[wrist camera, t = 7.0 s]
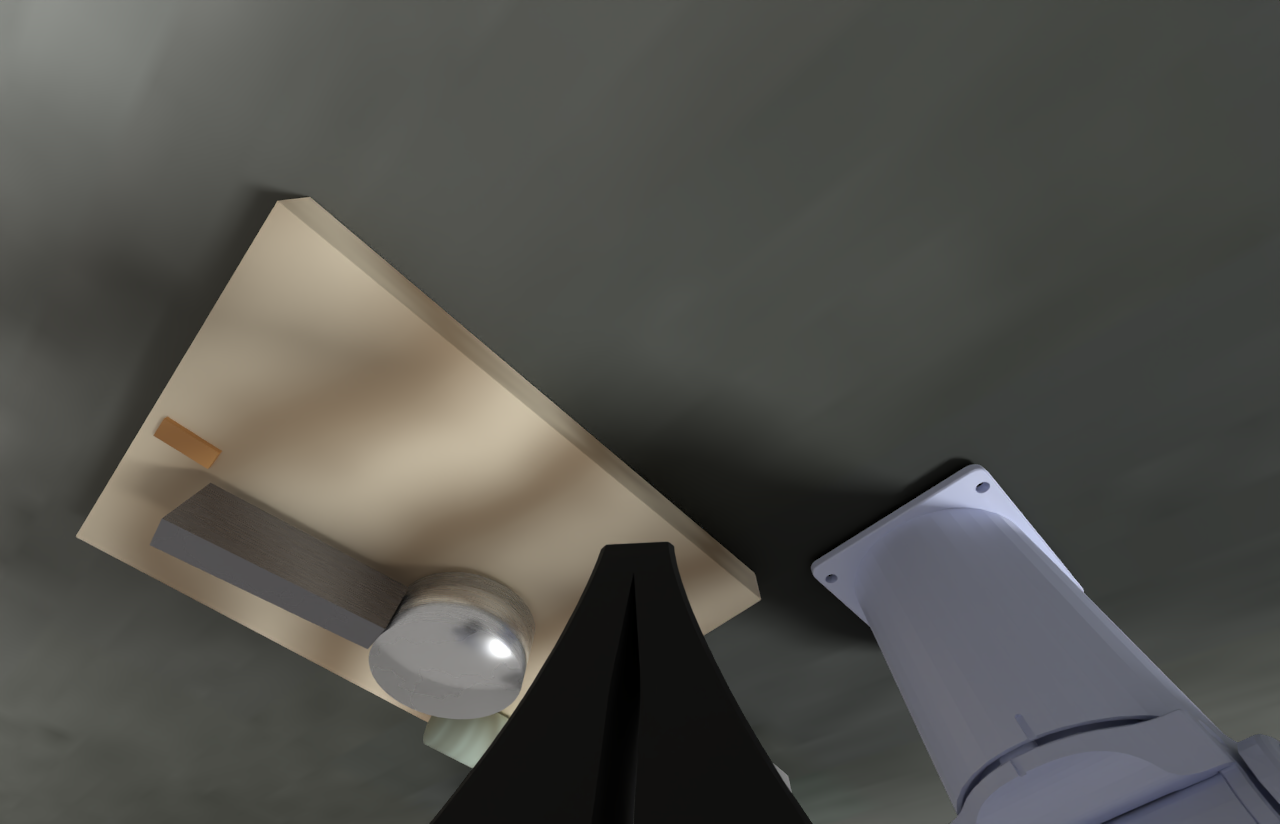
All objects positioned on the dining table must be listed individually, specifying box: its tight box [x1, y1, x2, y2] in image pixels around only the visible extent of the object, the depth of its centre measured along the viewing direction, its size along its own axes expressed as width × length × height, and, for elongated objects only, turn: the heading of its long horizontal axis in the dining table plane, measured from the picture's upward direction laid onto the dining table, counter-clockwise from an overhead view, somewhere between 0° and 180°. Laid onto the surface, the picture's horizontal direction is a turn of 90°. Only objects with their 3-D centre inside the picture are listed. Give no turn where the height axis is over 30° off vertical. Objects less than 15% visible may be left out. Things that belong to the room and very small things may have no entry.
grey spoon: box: [150, 483, 535, 719], centre depth 19 cm, size 14×6×2 cm, turn 50°
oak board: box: [76, 197, 761, 768], centre depth 20 cm, size 22×18×4 cm
